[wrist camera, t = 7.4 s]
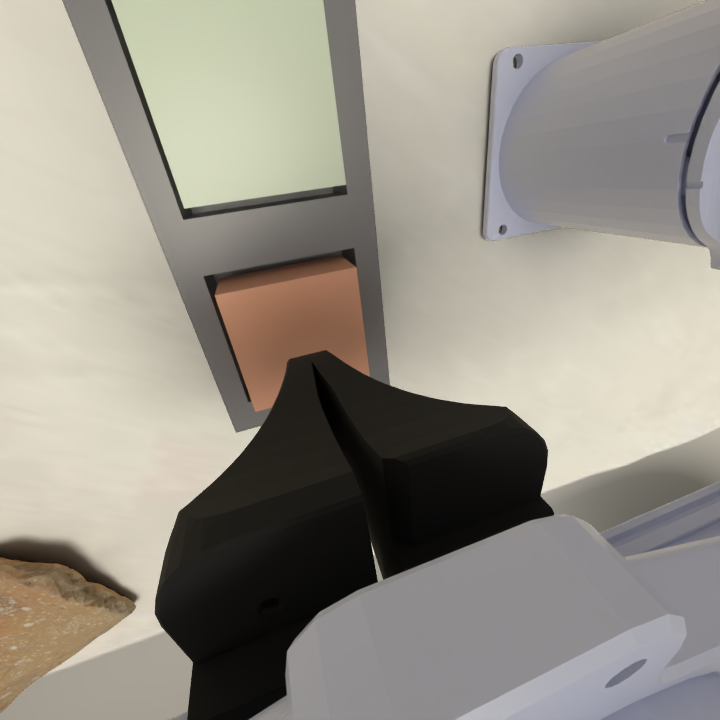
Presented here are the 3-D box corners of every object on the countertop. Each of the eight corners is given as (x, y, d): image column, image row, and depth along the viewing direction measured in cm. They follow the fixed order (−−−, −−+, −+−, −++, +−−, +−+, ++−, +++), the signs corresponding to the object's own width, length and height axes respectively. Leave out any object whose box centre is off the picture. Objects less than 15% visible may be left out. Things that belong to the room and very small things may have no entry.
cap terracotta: (340, 255, 15) (356, 267, 13) (355, 356, 17) (370, 380, 15) (219, 277, 14) (214, 295, 12) (253, 382, 16) (255, 411, 14)
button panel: (323, -47, 12) (344, -109, 9) (372, 363, 20) (390, 389, 18) (71, -45, 10) (14, -119, 8) (237, 398, 19) (236, 432, 16)
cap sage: (304, 4, 11) (318, -39, 9) (330, 184, 13) (346, 184, 11) (129, 10, 10) (98, -37, 8) (194, 204, 12) (184, 208, 10)
